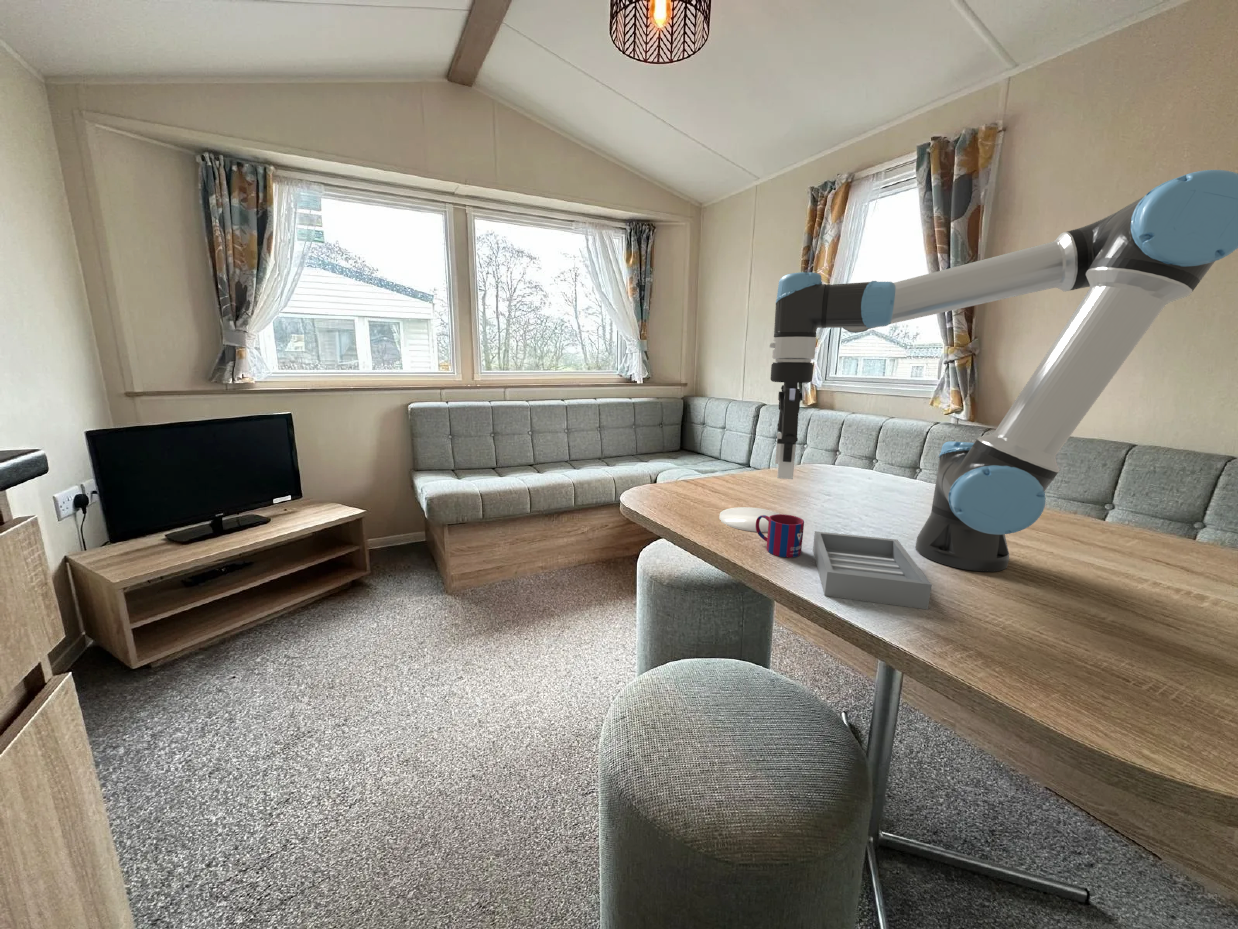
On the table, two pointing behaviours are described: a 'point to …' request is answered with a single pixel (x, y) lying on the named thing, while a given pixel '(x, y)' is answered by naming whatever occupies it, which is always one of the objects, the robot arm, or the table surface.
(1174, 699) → the table surface
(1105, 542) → the table surface
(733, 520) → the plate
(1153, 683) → the table surface
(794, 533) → the mug
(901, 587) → the rack
